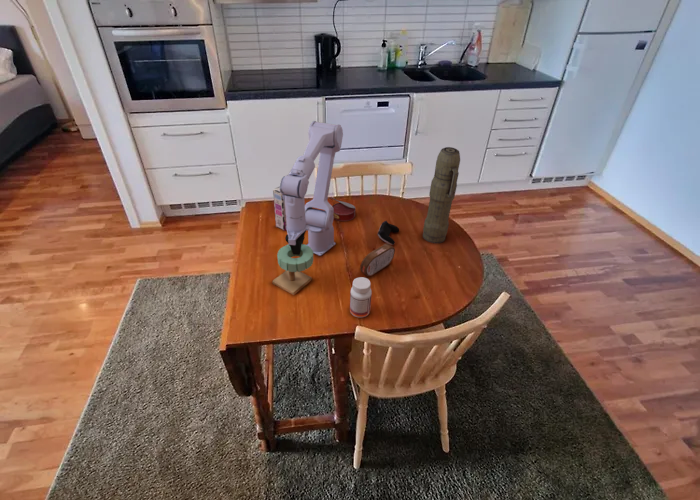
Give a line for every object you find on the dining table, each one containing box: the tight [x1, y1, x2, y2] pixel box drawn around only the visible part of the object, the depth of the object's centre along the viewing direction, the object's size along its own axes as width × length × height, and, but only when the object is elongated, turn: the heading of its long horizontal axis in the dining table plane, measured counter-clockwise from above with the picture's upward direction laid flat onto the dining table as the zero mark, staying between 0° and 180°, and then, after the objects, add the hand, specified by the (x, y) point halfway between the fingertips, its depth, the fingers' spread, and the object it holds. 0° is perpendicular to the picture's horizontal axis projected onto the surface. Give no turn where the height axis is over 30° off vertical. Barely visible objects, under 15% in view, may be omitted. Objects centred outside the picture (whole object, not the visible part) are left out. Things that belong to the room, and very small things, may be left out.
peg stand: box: [271, 270, 313, 296], centre depth 126 cm, size 9×9×6 cm
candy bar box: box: [272, 185, 287, 231], centre depth 151 cm, size 11×5×16 cm, turn 144°
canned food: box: [331, 197, 356, 222], centre depth 161 cm, size 11×10×10 cm
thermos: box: [422, 146, 461, 244], centre depth 141 cm, size 9×12×35 cm
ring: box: [276, 243, 314, 272], centre depth 122 cm, size 11×11×3 cm
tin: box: [359, 243, 396, 277], centre depth 132 cm, size 15×3×8 cm, turn 134°
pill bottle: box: [349, 276, 373, 319], centre depth 115 cm, size 6×6×11 cm
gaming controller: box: [377, 220, 400, 246], centre depth 149 cm, size 11×4×7 cm
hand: (297, 250), depth 125 cm, fingers closed on ring, 3 cm apart
